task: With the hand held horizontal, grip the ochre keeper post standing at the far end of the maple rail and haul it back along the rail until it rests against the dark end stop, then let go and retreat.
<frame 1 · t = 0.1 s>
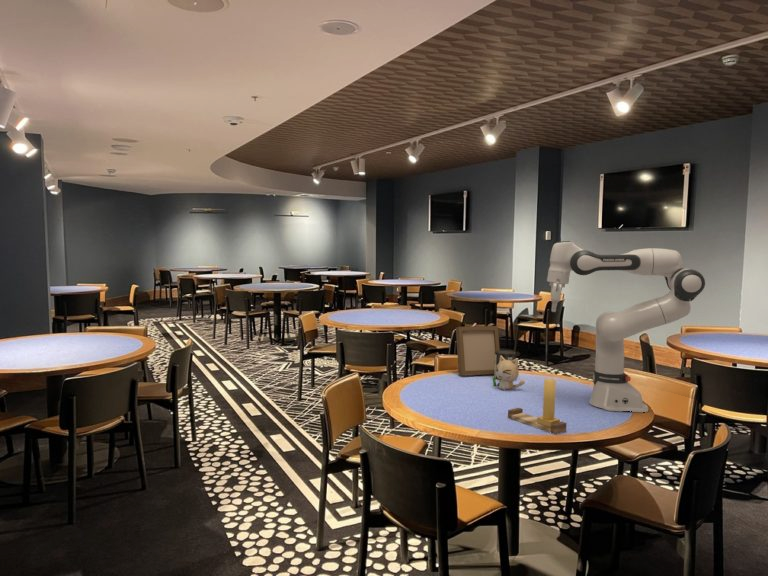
hand: (553, 310, 230), 39 cm above the table, tool pointing down, fingers open, 8 cm apart
kitten: (505, 389, 250), on the table
coffee can: (504, 380, 268), on the table
keeper: (549, 402, 194), point 10 cm above the table, slide at 5.5 cm
rail: (535, 424, 199), on the table
photo frame: (475, 373, 281), on the table
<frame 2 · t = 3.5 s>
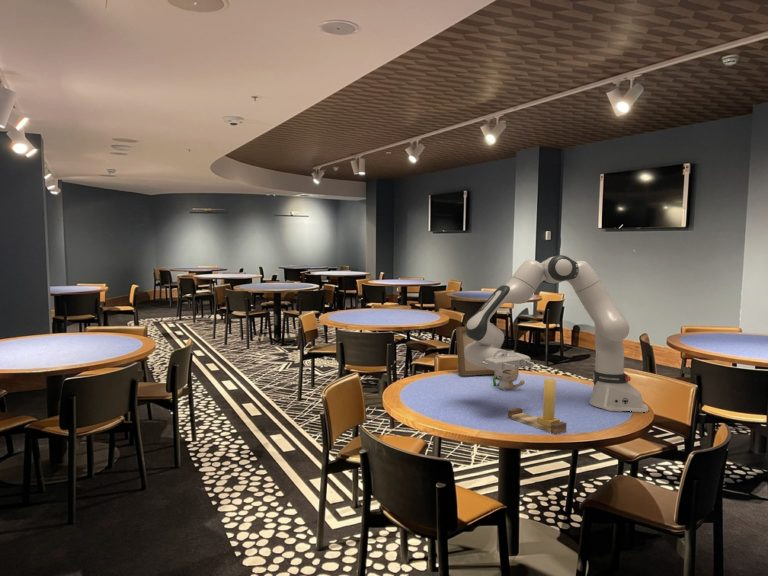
hand: (523, 366, 203), 20 cm above the table, tool horizontal, fingers open, 8 cm apart
nothing on the table moved.
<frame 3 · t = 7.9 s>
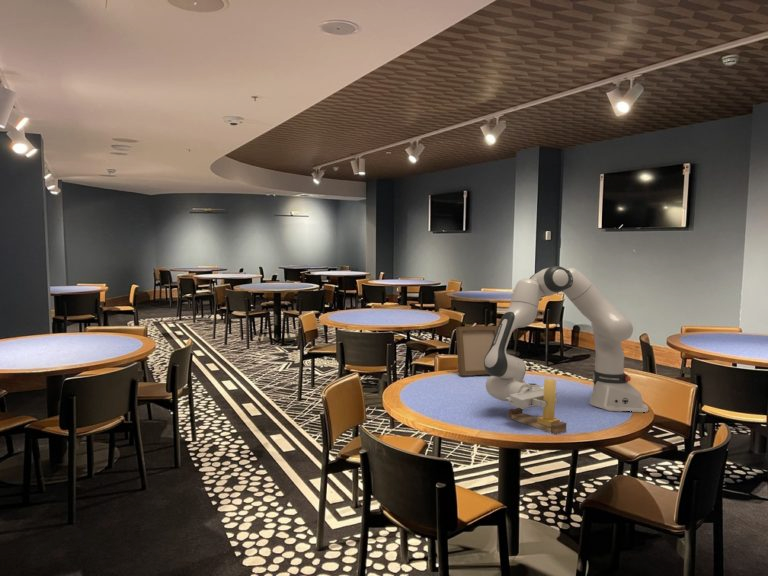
hand: (551, 403, 193), 10 cm above the table, tool horizontal, fingers closed on keeper, 4 cm apart
keeper: (549, 402, 194), point 10 cm above the table, slide at 5.5 cm, touching gripper
everything else where it was.
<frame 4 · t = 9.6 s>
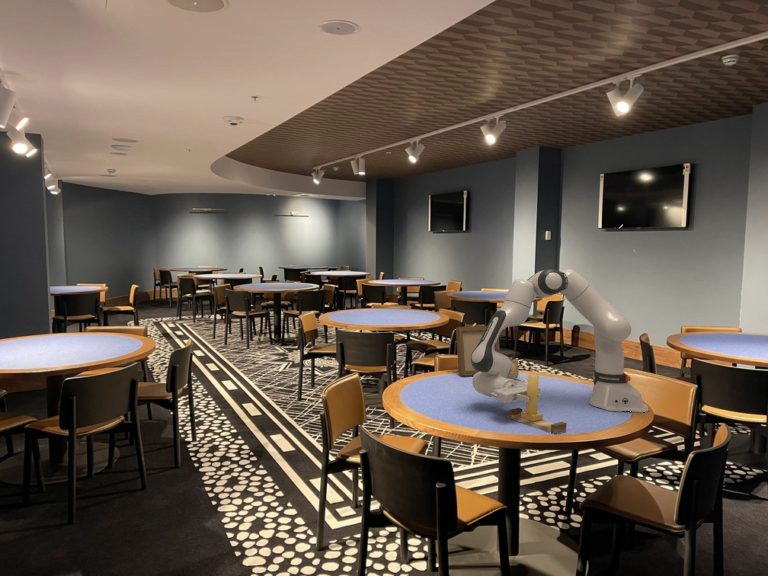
hand: (534, 398, 200), 10 cm above the table, tool horizontal, fingers closed on keeper, 4 cm apart
keeper: (532, 397, 200), point 10 cm above the table, slide at -2.1 cm, touching gripper
everything else where it was.
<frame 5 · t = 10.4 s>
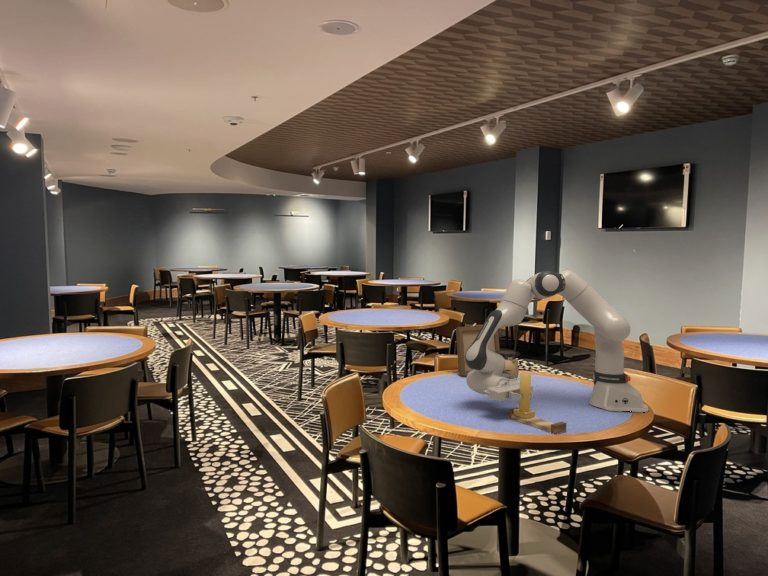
hand: (526, 396, 203), 10 cm above the table, tool horizontal, fingers closed on keeper, 4 cm apart
keeper: (524, 394, 203), point 10 cm above the table, slide at -5.7 cm, touching gripper
everything else where it was.
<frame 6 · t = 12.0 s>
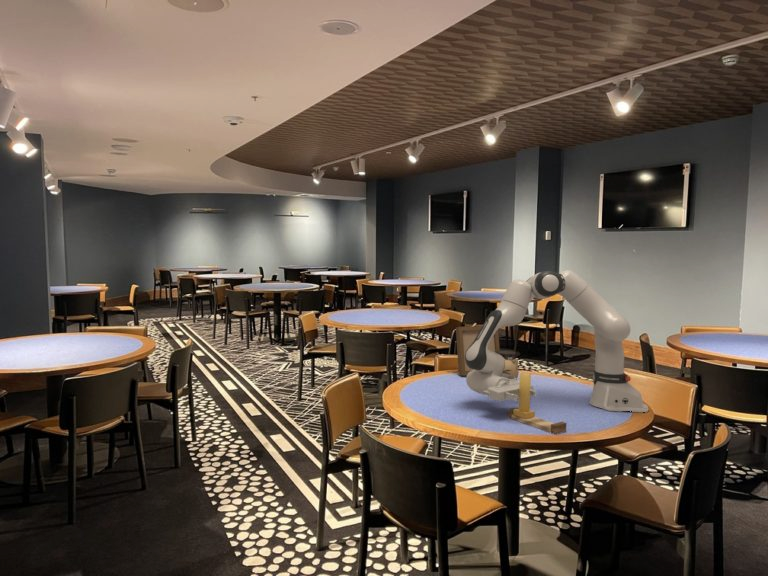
hand: (526, 395, 203), 10 cm above the table, tool horizontal, fingers open, 8 cm apart
keeper: (524, 394, 203), point 10 cm above the table, slide at -5.8 cm
everything else where it was.
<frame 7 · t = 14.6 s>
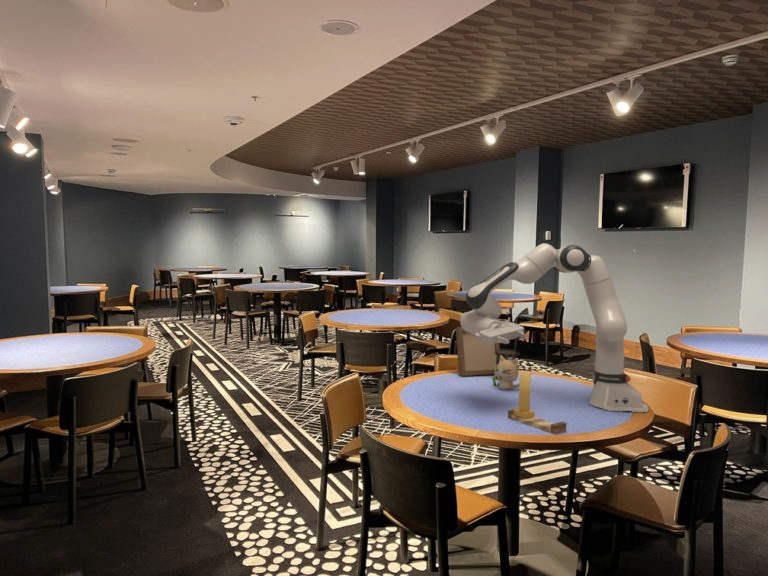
hand: (516, 339, 209), 30 cm above the table, tool horizontal, fingers open, 8 cm apart
nothing on the table moved.
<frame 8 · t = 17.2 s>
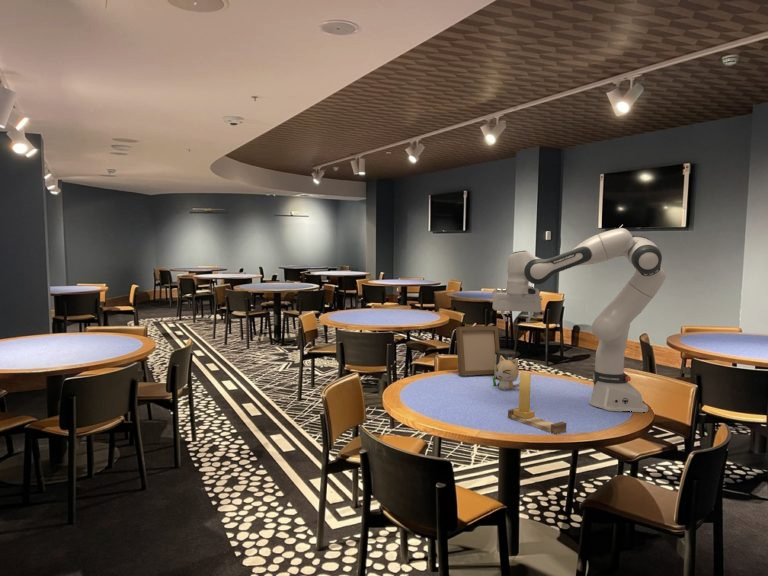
hand: (516, 321, 227), 34 cm above the table, tool pointing down, fingers open, 8 cm apart
nothing on the table moved.
at the end: keeper slide at -5.8 cm; the gripper is holding nothing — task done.
